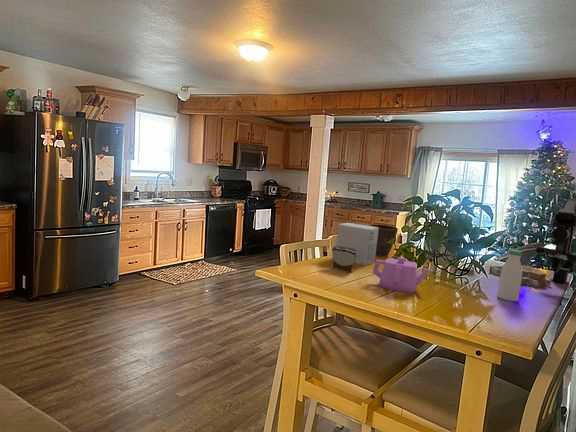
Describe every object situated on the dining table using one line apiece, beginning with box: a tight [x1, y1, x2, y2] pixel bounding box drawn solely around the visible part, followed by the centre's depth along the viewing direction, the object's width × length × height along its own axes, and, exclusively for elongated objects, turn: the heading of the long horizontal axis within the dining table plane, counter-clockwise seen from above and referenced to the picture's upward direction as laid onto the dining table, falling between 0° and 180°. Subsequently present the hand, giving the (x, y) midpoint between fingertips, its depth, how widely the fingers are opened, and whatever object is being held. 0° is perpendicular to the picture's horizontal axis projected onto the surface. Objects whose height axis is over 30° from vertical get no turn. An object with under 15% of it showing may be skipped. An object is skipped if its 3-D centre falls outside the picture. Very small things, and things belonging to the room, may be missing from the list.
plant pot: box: [370, 224, 399, 257], centre depth 233 cm, size 15×15×16 cm
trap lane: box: [489, 265, 552, 288], centre depth 207 cm, size 25×21×4 cm
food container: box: [331, 245, 358, 274], centre depth 191 cm, size 12×6×10 cm, turn 58°
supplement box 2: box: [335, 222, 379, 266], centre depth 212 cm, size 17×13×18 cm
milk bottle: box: [496, 249, 523, 302], centre depth 169 cm, size 8×8×20 cm
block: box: [528, 270, 547, 288], centre depth 199 cm, size 5×5×6 cm
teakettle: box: [372, 256, 431, 294], centre depth 170 cm, size 17×17×12 cm
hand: (555, 272), depth 191 cm, fingers closed
